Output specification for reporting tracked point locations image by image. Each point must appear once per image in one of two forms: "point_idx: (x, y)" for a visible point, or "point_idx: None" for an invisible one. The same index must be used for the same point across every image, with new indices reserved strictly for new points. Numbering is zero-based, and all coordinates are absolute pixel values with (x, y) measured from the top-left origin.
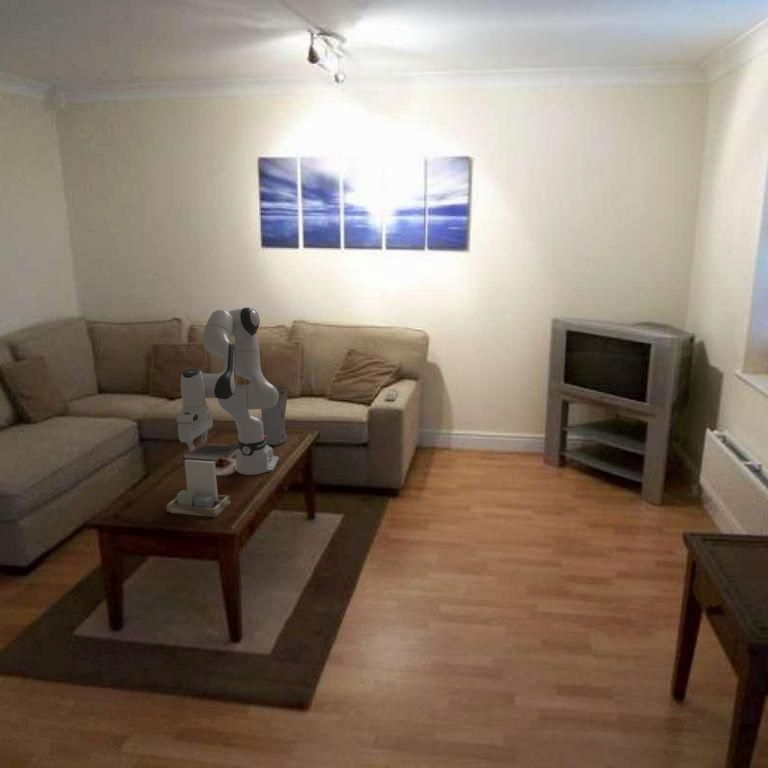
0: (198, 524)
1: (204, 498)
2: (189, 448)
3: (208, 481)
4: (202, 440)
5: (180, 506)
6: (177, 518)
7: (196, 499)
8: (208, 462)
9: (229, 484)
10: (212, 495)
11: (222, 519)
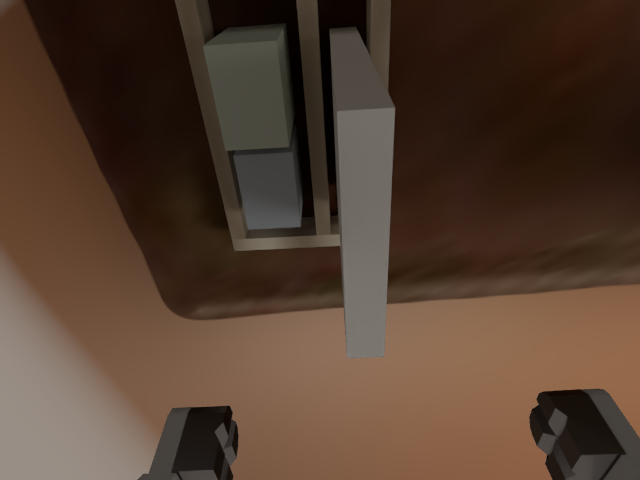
0: (158, 202)
1: (265, 200)
2: (163, 442)
3: (339, 226)
4: (557, 428)
5: (195, 74)
6: (155, 78)
7: (238, 169)
8: (356, 328)
9: (595, 122)
10: (337, 196)
11: (235, 260)
